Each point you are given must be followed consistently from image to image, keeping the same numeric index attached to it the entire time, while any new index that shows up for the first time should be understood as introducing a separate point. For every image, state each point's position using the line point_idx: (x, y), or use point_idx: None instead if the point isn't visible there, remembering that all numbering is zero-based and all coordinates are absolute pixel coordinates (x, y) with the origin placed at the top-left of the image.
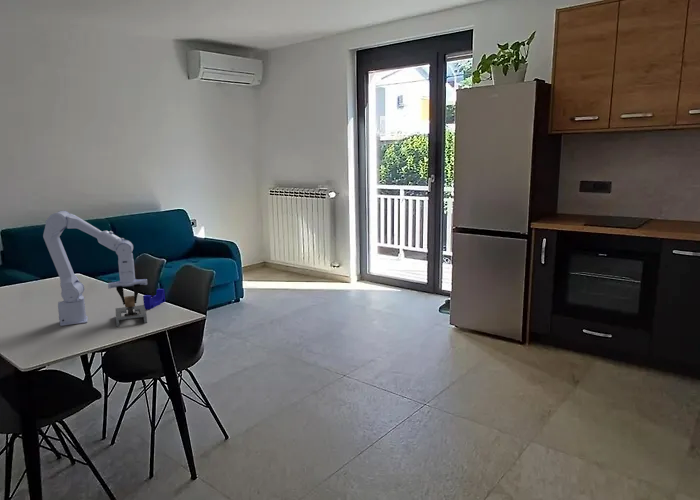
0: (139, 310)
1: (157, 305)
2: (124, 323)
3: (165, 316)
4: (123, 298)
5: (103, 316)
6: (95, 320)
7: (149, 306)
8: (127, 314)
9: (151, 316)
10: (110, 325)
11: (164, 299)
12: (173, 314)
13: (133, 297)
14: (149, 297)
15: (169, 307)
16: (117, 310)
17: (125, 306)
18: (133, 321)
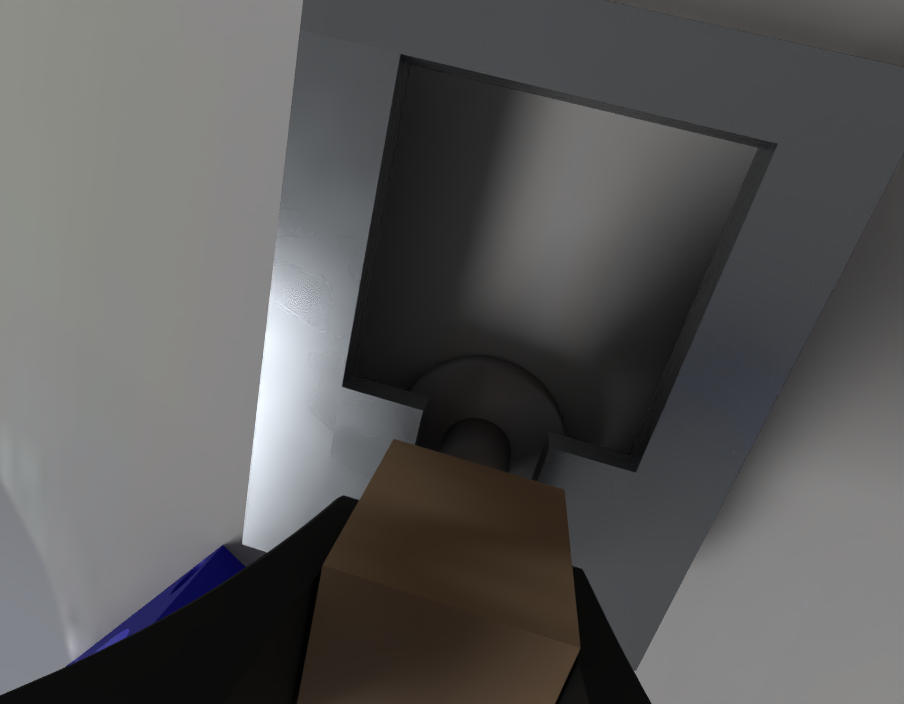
0: (356, 380)
1: (141, 608)
2: (655, 208)
3: (101, 147)
4: (601, 682)
5: (732, 667)
6: (886, 600)
7: (208, 576)
8: (516, 467)
9: (259, 277)
10: (859, 252)
11: None
12: (4, 166)
13: (334, 602)
14: None
15: (37, 468)
16: (659, 559)
17: (562, 500)
18: (516, 217)
